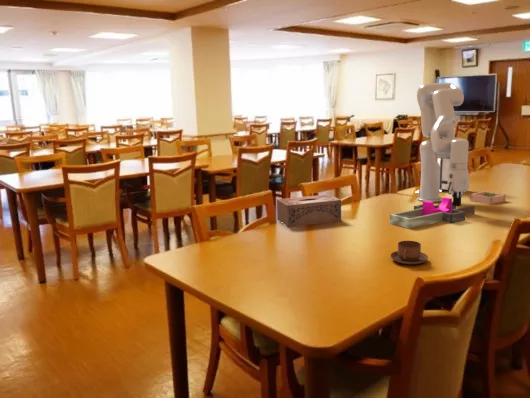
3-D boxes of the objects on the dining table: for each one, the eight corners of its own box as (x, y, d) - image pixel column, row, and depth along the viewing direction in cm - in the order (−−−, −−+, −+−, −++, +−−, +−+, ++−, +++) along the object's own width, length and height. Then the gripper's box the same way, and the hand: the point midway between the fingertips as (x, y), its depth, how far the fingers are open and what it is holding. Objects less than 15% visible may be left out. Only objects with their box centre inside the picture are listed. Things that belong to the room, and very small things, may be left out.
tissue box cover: (287, 227, 209) (287, 205, 207) (277, 220, 223) (276, 199, 221) (341, 221, 216) (341, 199, 214) (328, 214, 230) (327, 194, 228)
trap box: (381, 221, 213) (381, 212, 212) (445, 207, 233) (445, 199, 232) (418, 231, 195) (419, 221, 194) (484, 216, 215) (484, 207, 214)
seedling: (487, 211, 242) (486, 203, 246) (499, 204, 237) (498, 196, 241) (479, 204, 240) (478, 197, 244) (491, 198, 235) (490, 190, 239)
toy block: (433, 220, 212) (433, 203, 210) (422, 217, 217) (422, 201, 215) (455, 215, 219) (456, 199, 217) (444, 212, 224) (445, 197, 223)
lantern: (426, 190, 278) (428, 138, 272) (447, 187, 285) (449, 136, 279) (449, 194, 263) (452, 140, 257) (470, 191, 269) (473, 138, 263)
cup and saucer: (429, 268, 154) (430, 249, 153) (391, 266, 156) (391, 248, 155) (425, 256, 165) (425, 239, 164) (389, 255, 168) (389, 238, 167)
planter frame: (470, 200, 247) (470, 194, 246) (484, 197, 252) (485, 191, 252) (490, 204, 237) (490, 197, 236) (505, 201, 243) (505, 194, 242)
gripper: (454, 168, 210) (453, 209, 213) (476, 165, 217) (474, 204, 221) (440, 167, 216) (439, 206, 220) (462, 164, 224) (460, 202, 227)
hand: (456, 205), depth 220 cm, fingers closed
